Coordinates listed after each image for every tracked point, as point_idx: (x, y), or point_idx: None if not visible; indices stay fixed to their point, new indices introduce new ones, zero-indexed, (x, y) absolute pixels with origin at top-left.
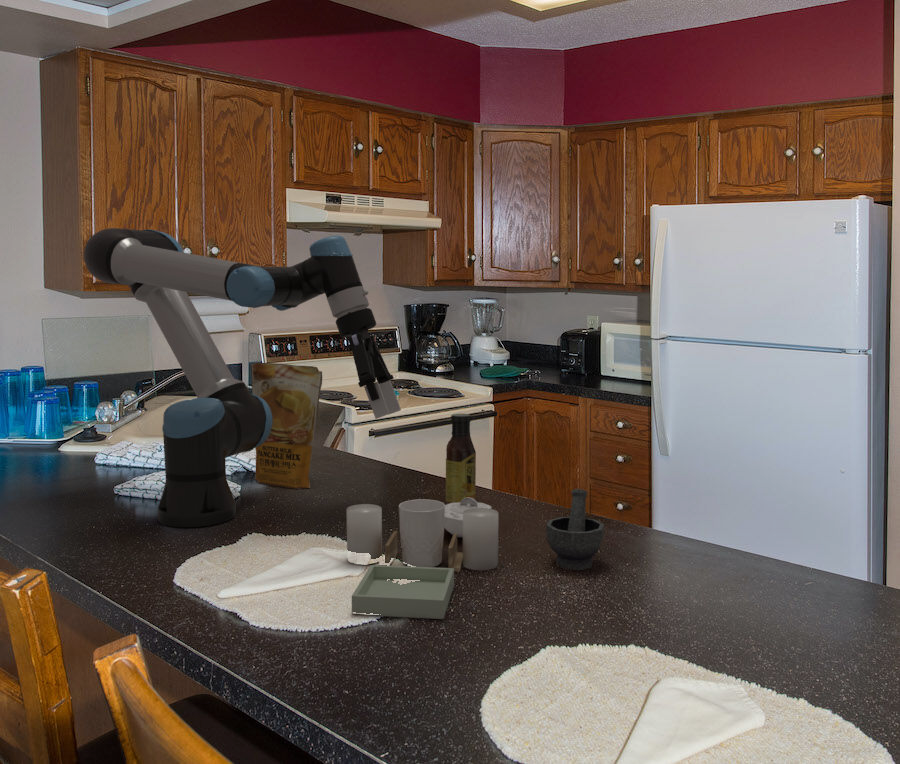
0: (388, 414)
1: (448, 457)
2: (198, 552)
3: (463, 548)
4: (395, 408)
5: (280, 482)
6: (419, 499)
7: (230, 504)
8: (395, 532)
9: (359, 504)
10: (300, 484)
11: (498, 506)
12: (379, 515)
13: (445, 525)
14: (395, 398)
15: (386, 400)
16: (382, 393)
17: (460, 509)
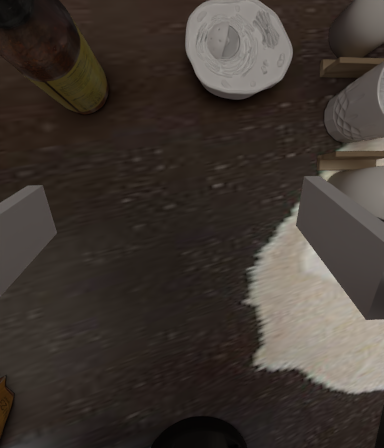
0: (55, 232)
1: (63, 68)
2: (333, 393)
3: (375, 47)
4: (40, 207)
5: (1, 432)
6: (379, 99)
7: (204, 436)
8: (342, 152)
9: (376, 206)
10: (5, 395)
11: None
12: None
13: (272, 86)
14: (13, 210)
15: (24, 252)
16: (3, 282)
17: (236, 57)
